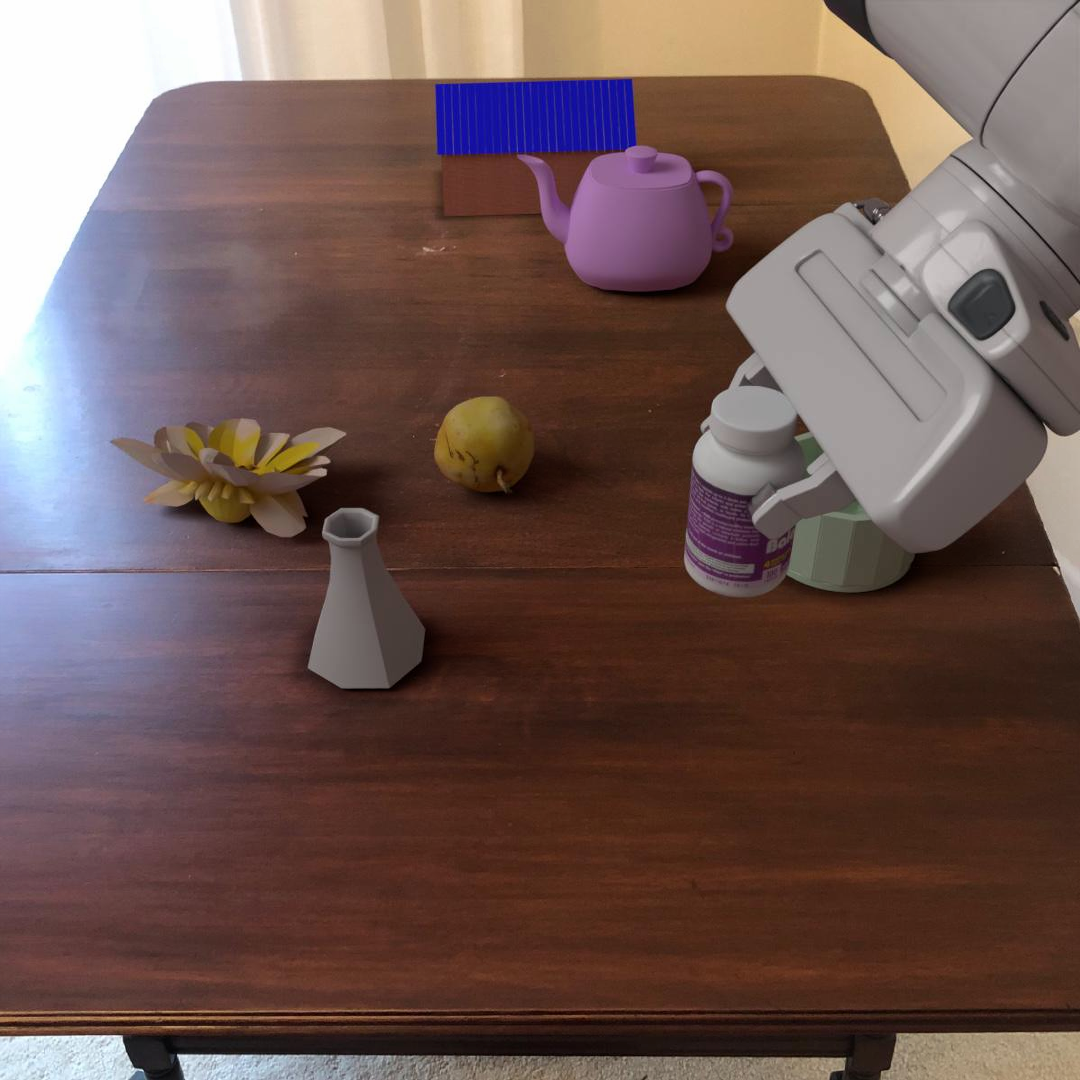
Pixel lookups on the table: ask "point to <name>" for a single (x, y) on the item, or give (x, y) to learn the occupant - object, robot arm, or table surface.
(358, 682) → the flask
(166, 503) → the decorative flower
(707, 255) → the teapot
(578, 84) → the house
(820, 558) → the crock
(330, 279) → the table surface
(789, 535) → the pill bottle
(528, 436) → the fruit
